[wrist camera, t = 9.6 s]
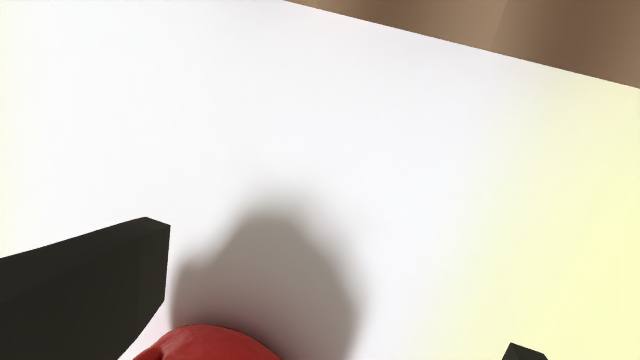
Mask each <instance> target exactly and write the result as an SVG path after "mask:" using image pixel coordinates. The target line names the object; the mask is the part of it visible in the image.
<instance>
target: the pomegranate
mask: <svg viewBox="0 0 640 360" xmlns="http://www.w3.org/2000/svg"><path fill="white" fill-rule="evenodd" d="M133 360H282V359H280V358H279V357H278V356H277V355H276V354H275V353H273V352H272V351H270V350H269V349H267V348H266V347H265V346H264V345H262V344H261V343H259V342H258V341H256V340H255V339H253V338H252V337H250V336H248V335H245V334H243V333H241V332H239V331H236V330H231V329H228V328H223V327H219V326H212V325H208V324H203V325H186V326H182V327H179V328H177V329H175V330H173V331H170V332H168V333H166V334H165V335H164V336H162V337H161V338H160V339H159V340H158V341H157V342H156V343H154V344H153V345H152V346H151V347H150V348H148V349H146V350H144V351H143V352H141V353H140V354H139V355H137V356H136V357H135V358H134V359H133Z"/></svg>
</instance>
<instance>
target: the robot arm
mask: <svg viewBox="0 0 640 360" xmlns="http://www.w3.org/2000/svg"><path fill="white" fill-rule="evenodd" d="M170 226H171V225H168V224H165V223H162V222H160V221H157V220H154V219H151V218H148V217H142V218H138V219H134V220H130V221H126V222H123V223H119V224H116V225H113V226H109V227H106V228H103V229H100V230H96V231H93V232H90V233H87V234H83V235H80V236H77V237H74V238H70V239H67V240H64V241H60V242H57V243H54V244H51V245H47V246H44V247H40V248H37V249H33V250H29V251H26V252H22V253H18V254H15V255H11V256H7V257H3V258H0V360H118V359H119V357H120V356H121V355H122V354H123V353H124V352H125V351H126V350H127V349H128V348H129V347H130V346H131V344H132V343H133V342H134V341H135V340H136V339H137V338H138V336H139V335H140V334H141V332H142V331H143V330H144V328H145V327H146V326H147V324H148V323H149V322H150V320H151V319H152V317H153V316H154V314H155V313H156V312H157V310H158V309H159V307H160V306H161V304H162V303H163V302H164V298H165V286H166V274H167V262H168V250H169V238H170ZM502 360H548V359H547V358H546V356H545V355H544V354H543V353H540V352H537V351H534V350H531V349H528V348H525V347H522V346H520V345H517V344H514V343H510V344H509V346H508V348H507V350H506V352H505V354H504V356H503V358H502Z"/></svg>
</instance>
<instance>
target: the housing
mask: <svg viewBox="0 0 640 360" xmlns="http://www.w3.org/2000/svg"><path fill="white" fill-rule="evenodd" d="M285 1H289V2H293V3H297V4H301V5H305V6H309V7H313V8H317V9H321V10H325V11H329V12H333V13H337V14H341V15H345V16H349V17H353V18H357V19H361V20H365V21H370V22H374V23H378V24H382V25H386V26H390V27H394V28H398V29H402V30H406V31H410V32H414V33H418V34H422V35H426V36H430V37H434V38H438V39H442V40H446V41H450V42H454V43H458V44H462V45H466V46H470V47H474V48H478V49H482V50H486V51H490V52H494V53H499V54H503V55H507V56H511V57H515V58H519V59H523V60H527V61H531V62H535V63H539V64H543V65H547V66H551V67H555V68H559V69H563V70H567V71H571V72H575V73H579V74H583V75H587V76H591V77H595V78H599V79H603V80H607V81H611V82H615V83H619V84H624V85H628V86H632V87H636V88H640V0H285Z"/></svg>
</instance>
